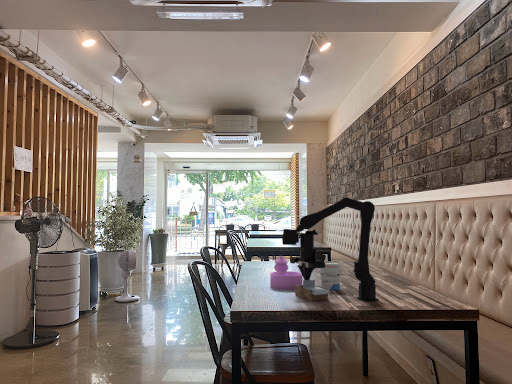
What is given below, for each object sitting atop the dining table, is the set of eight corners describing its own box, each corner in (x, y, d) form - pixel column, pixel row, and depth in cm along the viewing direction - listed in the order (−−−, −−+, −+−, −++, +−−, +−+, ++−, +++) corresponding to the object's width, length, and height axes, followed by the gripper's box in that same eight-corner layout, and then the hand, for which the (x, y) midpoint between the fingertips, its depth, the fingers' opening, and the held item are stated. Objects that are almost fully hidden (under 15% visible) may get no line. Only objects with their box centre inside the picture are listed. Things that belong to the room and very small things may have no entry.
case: (328, 299, 152) (328, 288, 152) (311, 301, 148) (311, 290, 148) (311, 294, 162) (311, 284, 163) (295, 296, 159) (295, 285, 159)
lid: (329, 293, 149) (329, 283, 150) (315, 294, 147) (315, 284, 147) (314, 288, 159) (314, 279, 159) (301, 290, 156) (301, 280, 156)
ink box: (338, 288, 177) (338, 262, 178) (340, 290, 172) (339, 264, 173) (320, 287, 178) (320, 262, 179) (321, 289, 173) (320, 263, 174)
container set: (305, 289, 173) (305, 260, 174) (273, 290, 172) (273, 261, 172) (294, 280, 198) (294, 255, 199) (265, 281, 196) (265, 255, 197)
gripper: (336, 246, 154) (336, 285, 153) (310, 243, 171) (310, 278, 170) (313, 247, 150) (313, 287, 149) (289, 243, 167) (289, 279, 166)
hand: (307, 282), depth 159 cm, fingers closed
